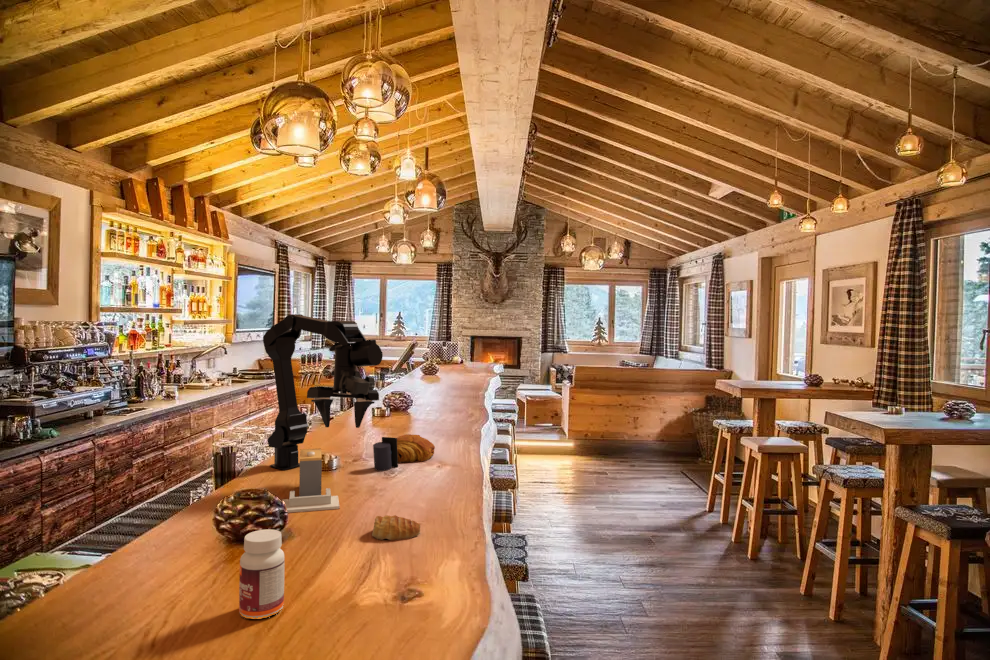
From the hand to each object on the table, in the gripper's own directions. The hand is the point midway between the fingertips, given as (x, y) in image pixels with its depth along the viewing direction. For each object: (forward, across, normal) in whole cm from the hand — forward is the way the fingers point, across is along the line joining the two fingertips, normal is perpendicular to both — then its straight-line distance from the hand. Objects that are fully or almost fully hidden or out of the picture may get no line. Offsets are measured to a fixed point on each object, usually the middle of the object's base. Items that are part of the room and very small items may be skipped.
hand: (342, 427), depth 153 cm
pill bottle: (+28, -43, -45) cm, 68 cm away
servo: (+16, -8, +1) cm, 18 cm away
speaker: (+12, +18, +6) cm, 22 cm away
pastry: (+22, -10, -35) cm, 43 cm away
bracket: (+18, -13, -8) cm, 24 cm away
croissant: (+9, +32, +11) cm, 35 cm away
